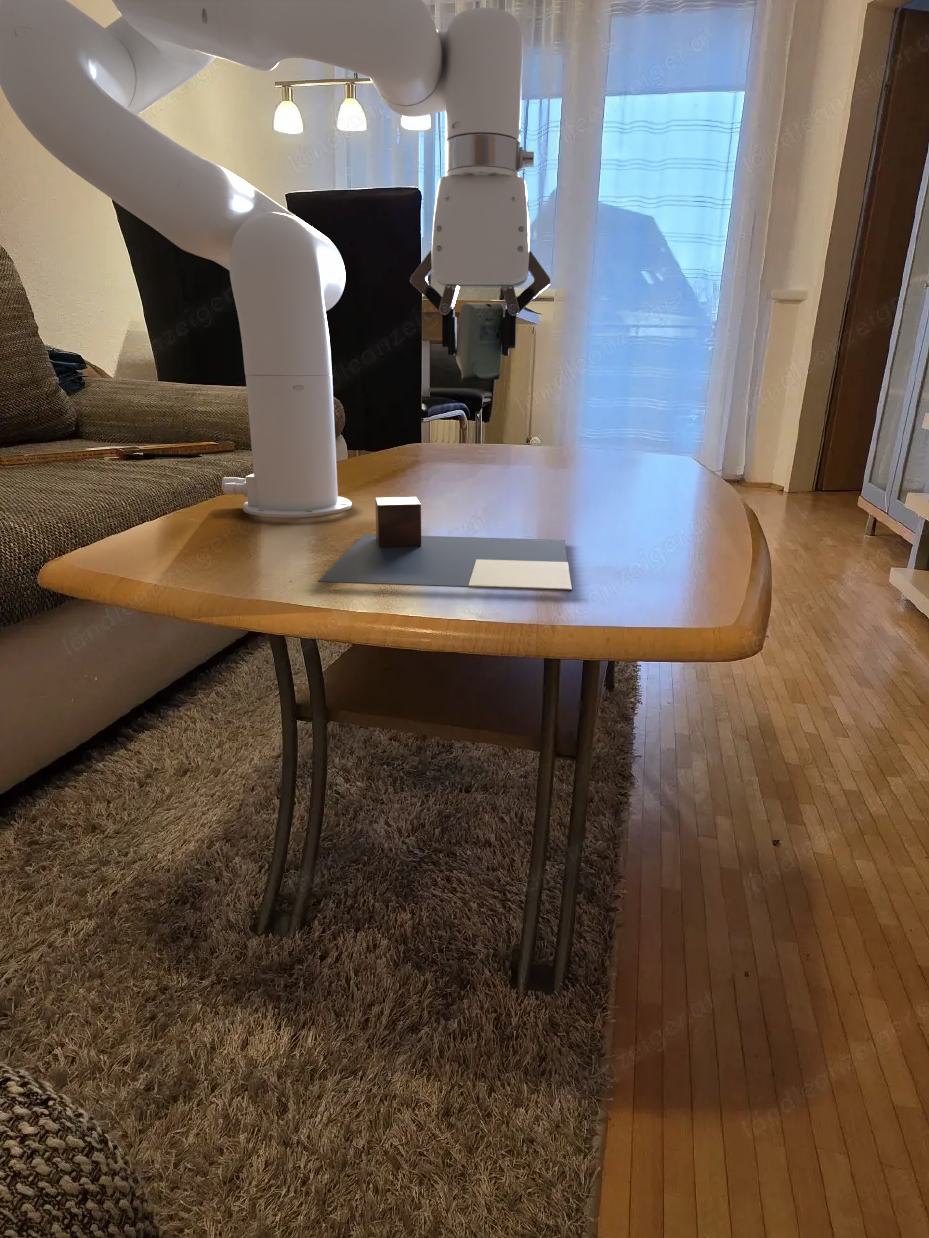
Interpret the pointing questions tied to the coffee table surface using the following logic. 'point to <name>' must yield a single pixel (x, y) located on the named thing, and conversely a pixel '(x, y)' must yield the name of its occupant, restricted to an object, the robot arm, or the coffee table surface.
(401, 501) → the walnut block
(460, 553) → the mat
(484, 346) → the grey charger brick
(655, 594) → the coffee table surface
